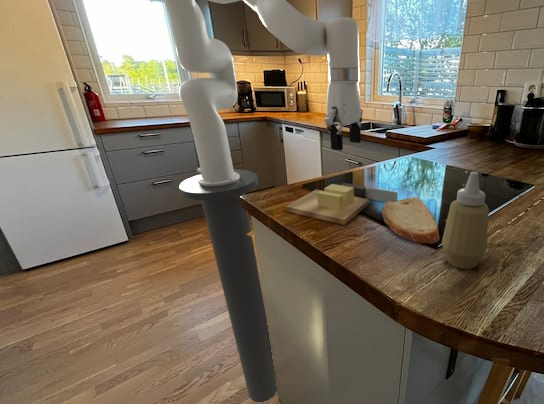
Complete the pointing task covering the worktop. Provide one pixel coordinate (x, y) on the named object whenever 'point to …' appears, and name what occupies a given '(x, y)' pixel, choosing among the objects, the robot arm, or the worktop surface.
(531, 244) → the worktop surface
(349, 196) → the butter block
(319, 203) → the butter slice
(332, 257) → the worktop surface
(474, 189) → the squeeze bottle
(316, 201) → the cutting board
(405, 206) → the slice of bread
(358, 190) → the knife
